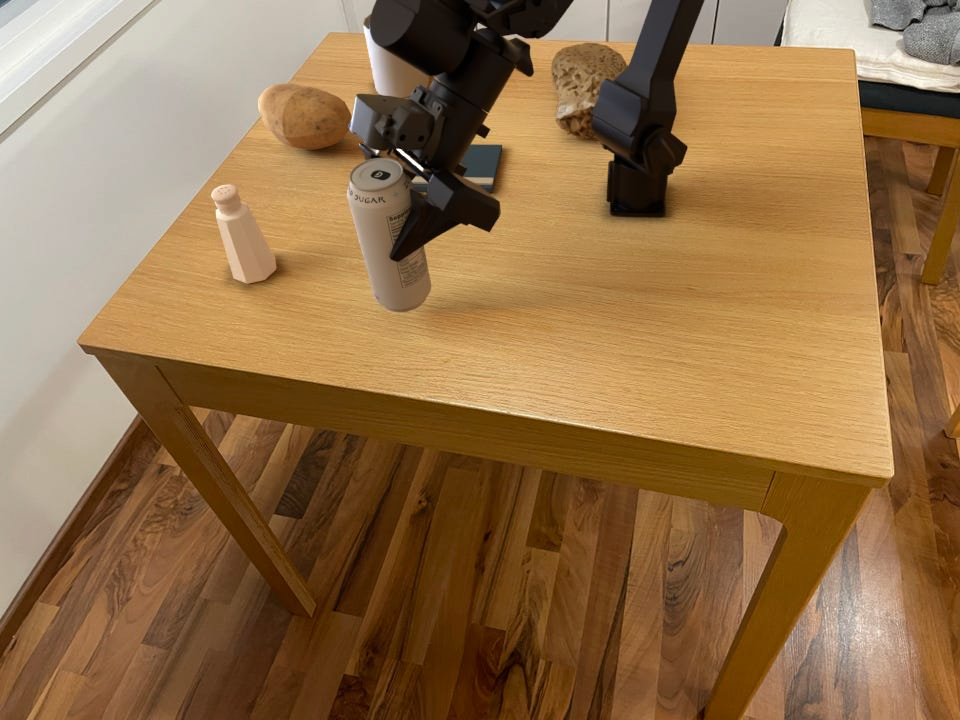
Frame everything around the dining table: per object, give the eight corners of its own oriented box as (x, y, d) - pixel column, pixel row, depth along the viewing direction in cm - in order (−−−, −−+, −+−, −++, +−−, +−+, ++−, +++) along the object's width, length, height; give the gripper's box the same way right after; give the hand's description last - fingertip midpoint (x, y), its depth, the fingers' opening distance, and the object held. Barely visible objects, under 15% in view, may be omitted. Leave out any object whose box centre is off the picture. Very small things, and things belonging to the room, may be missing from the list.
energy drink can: (396, 270, 80) (368, 148, 69) (443, 286, 78) (422, 162, 67) (363, 305, 77) (329, 183, 66) (411, 323, 75) (383, 199, 64)
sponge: (631, 154, 100) (649, 55, 109) (622, 107, 93) (642, 7, 103) (537, 160, 105) (562, 66, 114) (522, 117, 98) (550, 21, 108)
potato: (333, 172, 100) (319, 118, 94) (254, 151, 106) (236, 98, 100) (374, 136, 106) (363, 83, 100) (298, 117, 111) (283, 66, 105)
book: (502, 149, 101) (502, 142, 100) (492, 193, 94) (491, 185, 93) (388, 148, 103) (386, 141, 103) (370, 190, 97) (368, 183, 96)
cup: (427, 96, 112) (417, 29, 105) (373, 99, 113) (360, 34, 106) (430, 69, 118) (421, 4, 111) (379, 73, 119) (367, 9, 111)
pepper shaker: (224, 268, 88) (190, 190, 80) (265, 248, 90) (236, 170, 82) (243, 291, 85) (210, 212, 77) (286, 269, 87) (257, 190, 79)
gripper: (344, 21, 67) (268, 174, 71) (456, 99, 55) (357, 274, 60) (431, 74, 75) (358, 208, 79) (544, 152, 64) (451, 302, 68)
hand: (377, 244), depth 72 cm, fingers closed on energy drink can, 6 cm apart
